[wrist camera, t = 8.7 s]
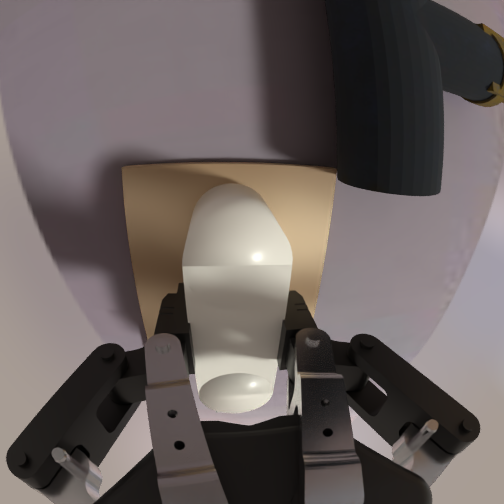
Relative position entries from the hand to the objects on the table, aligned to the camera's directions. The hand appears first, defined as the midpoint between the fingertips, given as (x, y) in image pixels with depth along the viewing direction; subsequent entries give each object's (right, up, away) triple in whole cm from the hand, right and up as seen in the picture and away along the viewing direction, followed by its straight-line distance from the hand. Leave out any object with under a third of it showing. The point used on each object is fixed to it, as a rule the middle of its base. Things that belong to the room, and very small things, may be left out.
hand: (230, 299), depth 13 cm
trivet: (0, +1, +2) cm, 2 cm away
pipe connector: (+10, +14, -2) cm, 17 cm away
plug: (0, -1, +1) cm, 2 cm away
